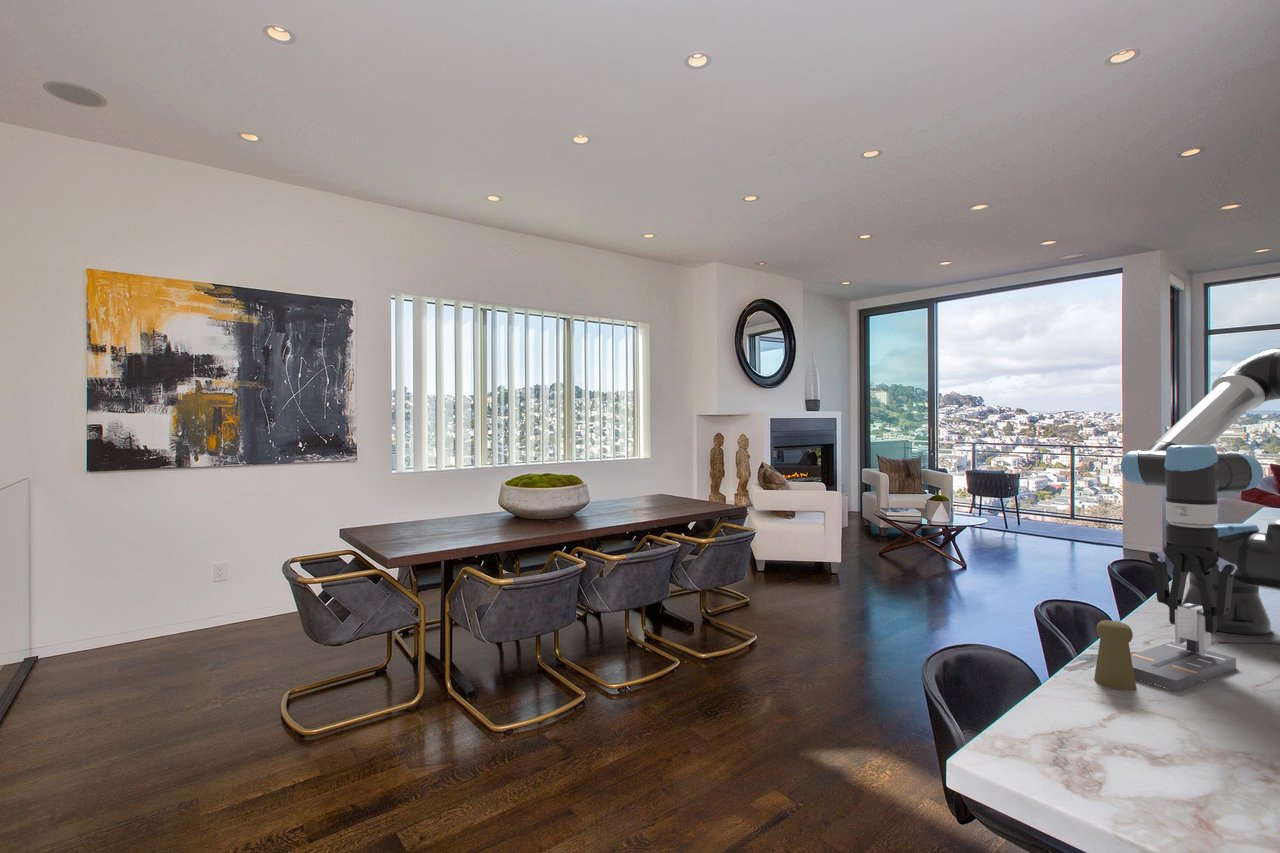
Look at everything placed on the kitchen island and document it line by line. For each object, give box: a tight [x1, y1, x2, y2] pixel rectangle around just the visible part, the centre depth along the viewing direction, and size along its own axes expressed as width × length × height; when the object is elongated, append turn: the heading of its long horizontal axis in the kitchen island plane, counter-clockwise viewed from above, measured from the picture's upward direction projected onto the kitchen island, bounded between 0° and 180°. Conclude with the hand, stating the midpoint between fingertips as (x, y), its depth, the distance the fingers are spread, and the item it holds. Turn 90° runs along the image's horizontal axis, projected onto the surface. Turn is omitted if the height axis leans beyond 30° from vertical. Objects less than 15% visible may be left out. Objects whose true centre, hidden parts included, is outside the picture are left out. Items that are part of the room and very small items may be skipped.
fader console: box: [1130, 641, 1237, 693], centre depth 116 cm, size 22×10×2 cm, turn 116°
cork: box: [1093, 619, 1137, 691], centre depth 111 cm, size 6×6×11 cm
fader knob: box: [1178, 603, 1204, 653], centre depth 119 cm, size 4×3×9 cm
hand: (1192, 644), depth 119 cm, fingers closed on fader knob, 3 cm apart
